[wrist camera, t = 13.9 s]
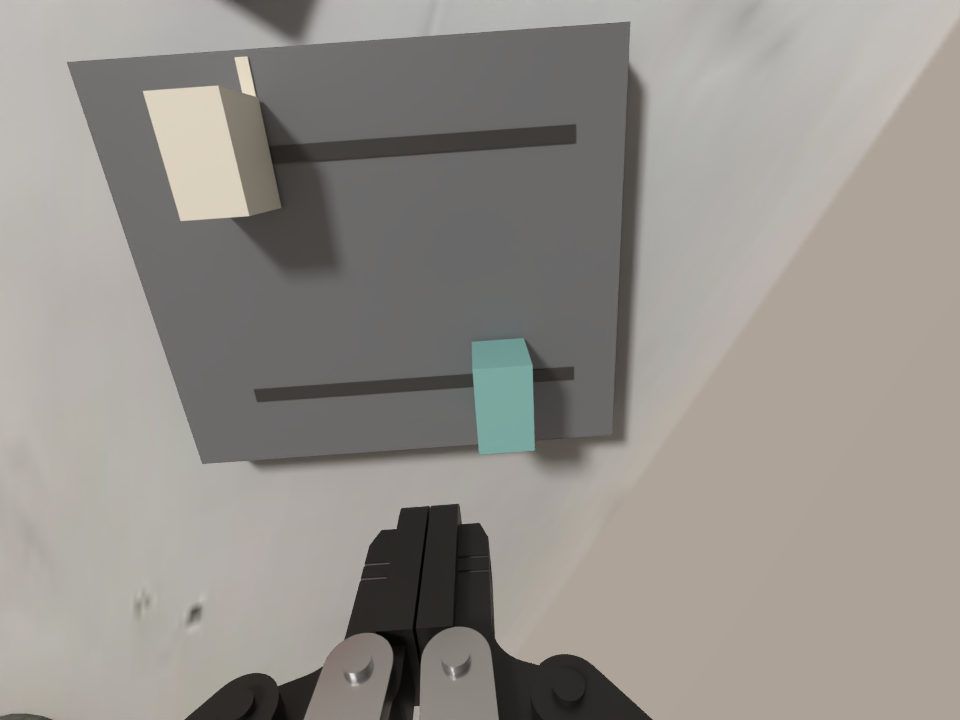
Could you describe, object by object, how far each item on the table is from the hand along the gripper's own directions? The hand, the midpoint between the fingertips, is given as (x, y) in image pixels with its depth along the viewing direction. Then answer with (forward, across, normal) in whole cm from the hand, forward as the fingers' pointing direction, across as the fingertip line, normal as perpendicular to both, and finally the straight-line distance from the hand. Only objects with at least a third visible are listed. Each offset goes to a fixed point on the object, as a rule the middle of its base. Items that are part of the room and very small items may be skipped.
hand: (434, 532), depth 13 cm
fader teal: (+16, -2, +3) cm, 17 cm away
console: (+19, +4, -3) cm, 20 cm away
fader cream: (+16, +10, -10) cm, 21 cm away
